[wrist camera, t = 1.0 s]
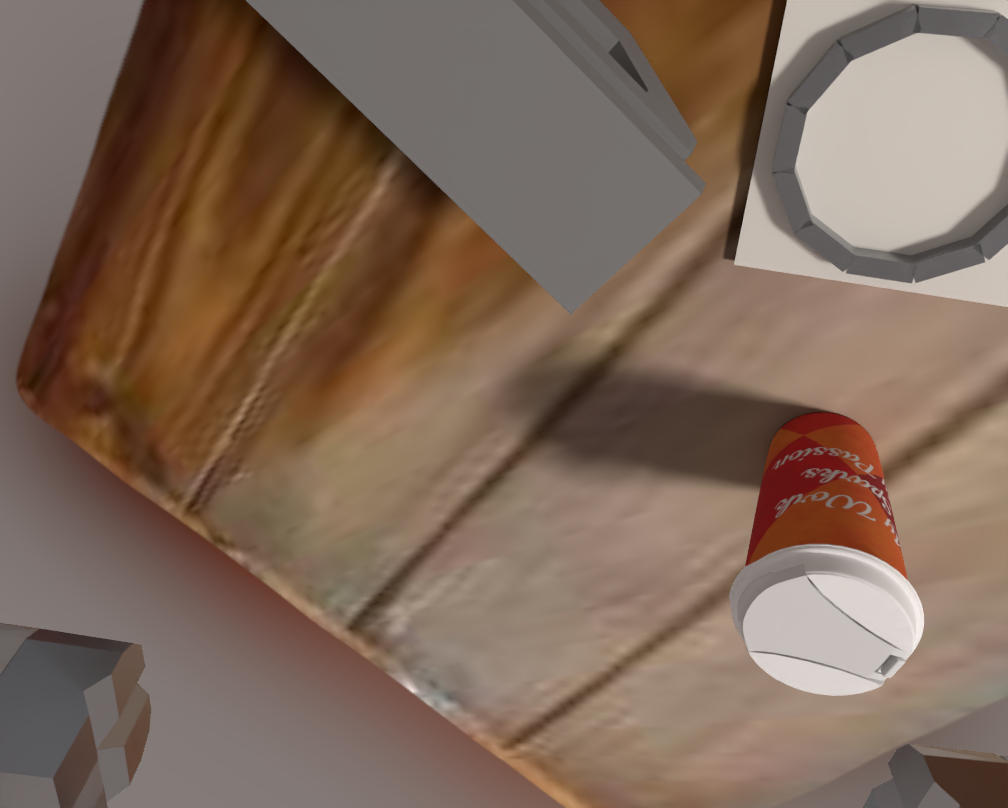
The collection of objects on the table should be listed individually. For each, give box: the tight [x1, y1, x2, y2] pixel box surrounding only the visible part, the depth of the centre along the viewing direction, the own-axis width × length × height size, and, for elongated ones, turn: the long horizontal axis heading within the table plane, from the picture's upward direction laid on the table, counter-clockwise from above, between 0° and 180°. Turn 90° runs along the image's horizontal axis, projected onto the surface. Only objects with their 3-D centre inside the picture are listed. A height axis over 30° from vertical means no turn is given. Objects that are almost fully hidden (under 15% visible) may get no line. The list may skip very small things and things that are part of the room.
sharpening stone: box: [246, 0, 706, 314], centre depth 39 cm, size 25×8×11 cm, turn 49°
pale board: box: [734, 0, 1008, 307], centre depth 40 cm, size 14×14×1 cm
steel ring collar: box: [772, 4, 1008, 283], centre depth 40 cm, size 12×12×1 cm
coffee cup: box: [729, 412, 924, 696], centre depth 44 cm, size 8×8×15 cm
